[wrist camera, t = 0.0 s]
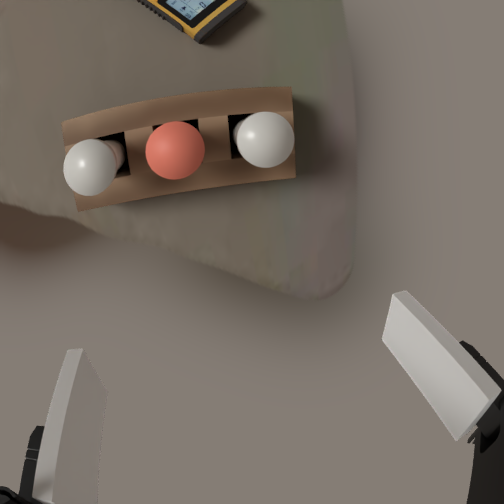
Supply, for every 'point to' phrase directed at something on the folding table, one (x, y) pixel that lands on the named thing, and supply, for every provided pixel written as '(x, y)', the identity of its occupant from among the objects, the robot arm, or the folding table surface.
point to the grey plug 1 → (93, 165)
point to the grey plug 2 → (264, 139)
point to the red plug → (175, 150)
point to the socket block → (209, 126)
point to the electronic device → (195, 14)
